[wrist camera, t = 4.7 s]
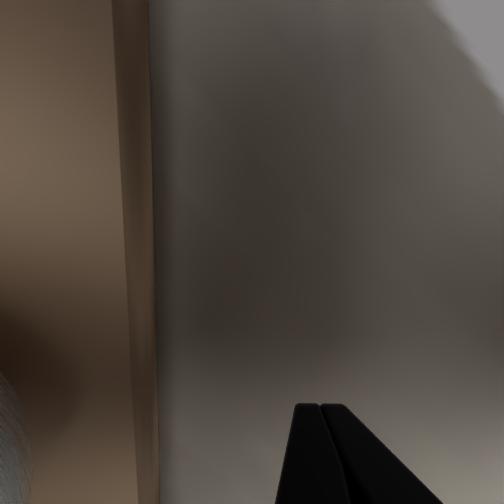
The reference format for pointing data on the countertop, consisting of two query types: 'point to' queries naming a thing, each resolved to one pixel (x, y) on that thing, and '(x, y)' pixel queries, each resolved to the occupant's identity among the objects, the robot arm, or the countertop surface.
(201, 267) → the countertop surface
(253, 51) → the countertop surface
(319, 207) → the countertop surface
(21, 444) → the ball
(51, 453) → the deck
